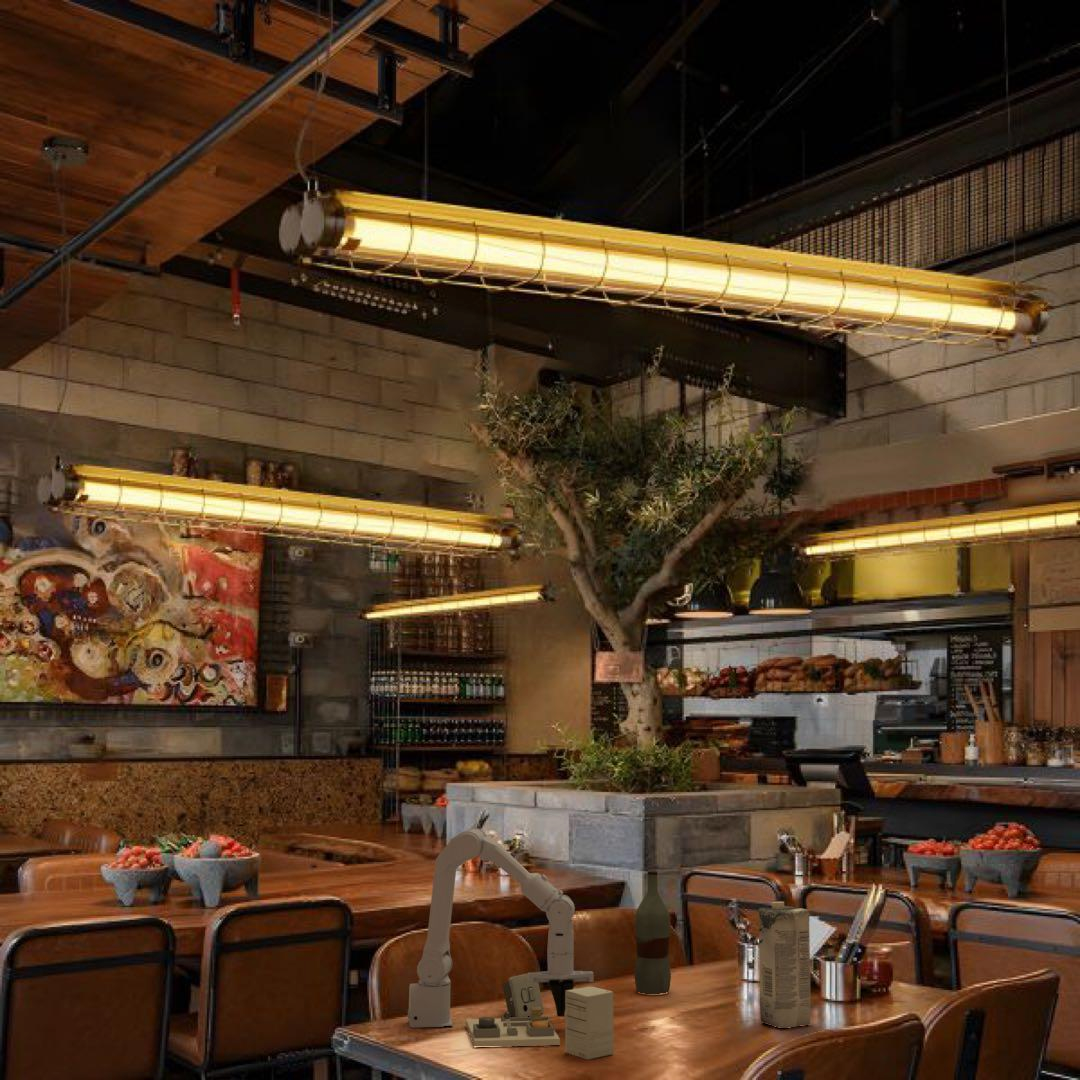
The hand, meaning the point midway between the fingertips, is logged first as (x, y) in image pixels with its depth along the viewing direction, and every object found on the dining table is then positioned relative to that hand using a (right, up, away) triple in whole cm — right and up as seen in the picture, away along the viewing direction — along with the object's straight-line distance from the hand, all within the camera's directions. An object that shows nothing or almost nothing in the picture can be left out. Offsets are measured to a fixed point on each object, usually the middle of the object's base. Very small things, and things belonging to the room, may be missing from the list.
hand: (560, 1015), depth 298 cm
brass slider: (-5, -1, -1) cm, 6 cm away
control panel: (-11, -2, -7) cm, 13 cm away
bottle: (+24, -9, +40) cm, 47 cm away
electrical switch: (-9, -5, +13) cm, 17 cm away
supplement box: (+6, -1, -22) cm, 22 cm away
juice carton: (+51, -4, +6) cm, 52 cm away
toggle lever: (-11, +1, -12) cm, 16 cm away
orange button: (-5, +1, -11) cm, 12 cm away
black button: (-16, +2, -12) cm, 20 cm away
